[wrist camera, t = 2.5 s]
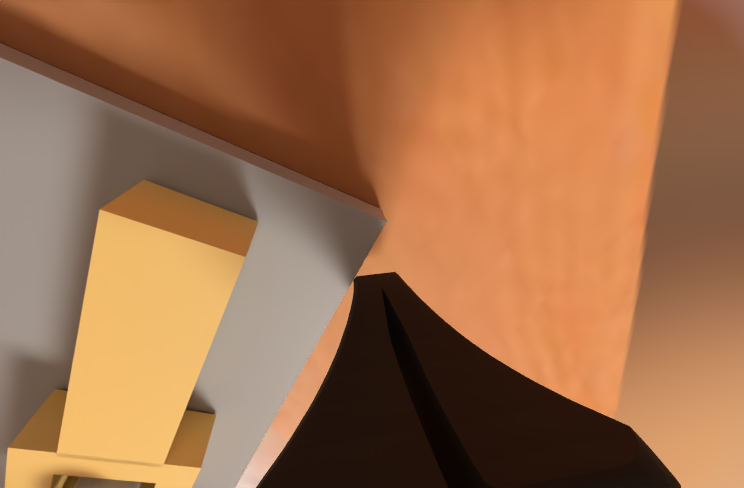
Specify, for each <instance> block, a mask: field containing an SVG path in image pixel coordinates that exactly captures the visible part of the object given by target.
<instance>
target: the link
mask: <svg viewBox="0 0 744 488" xmlns="http://www.w3.org/2000/svg"><path fill="white" fill-rule="evenodd" d="M258 223H259V222H258V221H255V220H253V219H250V218H247V217H244V216H242V215H239V214H236V213H234V212H231V211H228V210H225V209H223V208H220V207H217V206H215V205H212V204H209V203H206V202H204V201H201V200H198V199H196V198H193V197H190V196H187V195H185V194H182V193H179V192H176V191H174V190H171V189H168V188H166V187H163V186H160V185H157V184H155V183H152V182H149V181H147V180H143V181H141V182H140V183H138V184H137V185H135V186H134V187H132V188H131V189H129V190H128V191H126V192H125V193H123V194H122V195H120V196H119V197H117V198H116V199H114V200H113V201H111V202H110V203H108V204H107V205H105V206H104V207H102V208H101V209H100V210H99V215H98V221H97V227H96V232H95V238H94V244H93V249H92V255H91V261H90V267H89V272H88V278H87V284H86V289H85V295H84V301H83V306H82V312H81V318H80V323H79V329H78V335H77V341H76V346H75V352H74V358H73V363H72V369H71V375H70V380H69V386H68V391H65V390H59V389H55V390H54V391H53V392H52V393H51V395H50V396H49V397H48V398H47V400H46V401H45V402H44V403H43V405H42V406H41V407H40V408H39V409H38V411H37V412H36V413H35V414H34V416H33V417H32V418H31V419H30V421H29V422H28V423H27V424H26V426H25V427H24V428H23V429H22V431H21V432H20V433H19V434H18V436H17V437H16V438H15V439H14V440H13V442H12V443H11V444H10V445H9V447H8V450H7V463H6V476H5V488H73V487H74V485H75V483H76V482H77V480H78V478H79V477H90V478H101V479H113V480H124V481H136V482H141V484H140V487H139V488H192V486H193V484H194V482H195V480H196V478H197V476H198V474H199V472H200V470H201V467H202V464H203V460H204V457H205V453H206V450H207V446H208V443H209V439H210V436H211V432H212V429H213V425H214V422H215V418H216V415H214V414H208V413H202V412H196V411H190V410H185V409H186V407H187V404H188V402H189V399H190V397H191V394H192V392H193V389H194V386H195V384H196V381H197V379H198V376H199V374H200V371H201V369H202V366H203V364H204V361H205V359H206V356H207V354H208V351H209V349H210V346H211V344H212V341H213V339H214V336H215V334H216V331H217V328H218V326H219V323H220V321H221V318H222V316H223V313H224V311H225V308H226V306H227V303H228V301H229V298H230V296H231V293H232V291H233V288H234V286H235V283H236V281H237V278H238V275H239V273H240V270H241V268H242V265H243V263H244V260H245V258H246V255H247V252H248V250H249V247H250V244H251V242H252V239H253V236H254V234H255V231H256V228H257V225H258Z"/></svg>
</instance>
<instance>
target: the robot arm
mask: <svg viewBox="0 0 744 488" xmlns="http://www.w3.org/2000/svg"><path fill="white" fill-rule="evenodd" d="M256 488H681V485H680V484H679V482H678V481H677V480H676V478H675V477H674V476H673V475H672V473H671V472H670V471H669V470H668V469H667V468H666V466H665V465H664V464H663V463H662V462H661V460H660V459H659V458H658V457H657V456H656V455H655V453H654V452H653V451H652V450H651V449H650V448H649V447H648V445H646V443H645V442H644V441H643V440H642V439H641V438H640V437H639V436H638V435H637V434H636V432H634V431H633V429H632V428H631V427H630V426H628V425H625V424H623V423H621V422H619V421H616V420H614V419H612V418H610V417H607V416H605V415H603V414H601V413H598V412H596V411H594V410H592V409H589V408H587V407H585V406H583V405H580V404H578V403H576V402H574V401H572V400H570V399H567V398H565V397H564V396H562V395H560V394H558V393H556V392H554V391H552V390H550V389H548V388H546V387H544V386H542V385H540V384H538V383H536V382H534V381H533V380H531V379H529V378H527V377H525V376H524V375H522V374H520V373H518V372H517V371H515V370H513V369H512V368H510V367H508V366H507V365H505V364H503V363H502V362H500V361H498V360H497V359H495V358H494V357H492V356H491V355H489V354H487V353H486V352H484V351H483V350H482V349H480V348H479V347H477V346H476V345H475V344H473V343H472V342H470V341H469V340H468V339H466V338H465V337H464V336H462V335H461V334H460V333H459V332H457V331H456V330H455V329H454V328H452V327H451V326H450V325H449V324H448V323H446V322H445V321H444V320H443V319H442V318H441V317H440V316H438V315H437V314H436V313H435V312H434V311H433V310H432V309H431V308H430V307H429V306H428V305H427V304H426V303H424V302H423V301H422V300H421V299H420V298H419V297H418V296H417V295H416V293H415V292H414V291H413V290H412V289H411V288H410V287H409V286H408V285H407V284H406V283H405V282H404V281H403V280H402V278H401V277H400V276H399V275H398V274H397V273H396V272H391V273H382V274H374V275H365V276H357V277H356V278H355V279H354V294H353V300H352V305H351V309H350V313H349V317H348V321H347V325H346V328H345V331H344V333H343V336H342V339H341V342H340V345H339V348H338V350H337V353H336V355H335V357H334V360H333V362H332V364H331V366H330V369H329V371H328V373H327V375H326V377H325V379H324V381H323V383H322V385H321V387H320V389H319V391H318V393H317V395H316V397H315V398H314V400H313V402H312V404H311V406H310V407H309V409H308V411H307V412H306V414H305V416H304V417H303V419H302V420H301V422H300V424H299V425H298V427H297V429H296V430H295V432H294V433H293V435H292V437H291V438H290V440H289V441H288V443H287V444H286V446H285V447H284V449H283V450H282V452H281V453H280V455H279V456H278V458H277V459H276V460H275V462H274V463H273V465H272V466H271V467H270V469H269V470H268V472H267V473H266V474H265V476H264V477H263V479H262V480H261V481H260V483H259V484H258V486H257V487H256Z"/></svg>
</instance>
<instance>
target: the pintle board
mask: <svg viewBox="0 0 744 488" xmlns="http://www.w3.org/2000/svg"><path fill="white" fill-rule="evenodd" d="M143 180H147V181H149V182H152V183H155V184H157V185H160V186H163V187H166V188H168V189H171V190H174V191H176V192H179V193H182V194H185V195H187V196H190V197H193V198H196V199H198V200H201V201H204V202H206V203H209V204H212V205H215V206H217V207H220V208H223V209H225V210H228V211H231V212H234V213H236V214H239V215H242V216H244V217H247V218H250V219H253V220H255V221H258V222H259V223H258V225H257V228H256V231H255V234H254V236H253V239H252V242H251V244H250V247H249V250H248V252H247V255H246V258H245V260H244V263H243V265H242V268H241V270H240V273H239V275H238V278H237V281H236V283H235V286H234V288H233V291H232V293H231V296H230V298H229V301H228V303H227V306H226V308H225V311H224V313H223V316H222V318H221V321H220V323H219V326H218V328H217V331H216V334H215V336H214V339H213V341H212V344H211V346H210V349H209V351H208V354H207V356H206V359H205V361H204V364H203V366H202V369H201V371H200V374H199V376H198V379H197V381H196V384H195V386H194V389H193V392H192V394H191V397H190V399H189V402H188V404H187V407H186V409H185V410H190V411H196V412H202V413H208V414H214V415H216V418H215V422H214V425H213V429H212V432H211V436H210V439H209V443H208V446H207V450H206V453H205V457H204V460H203V464H202V467H201V470H200V472H199V474H198V476H197V478H196V480H195V482H194V484H193V486H192V488H235V487H236V485H237V483H238V482H239V480H240V478H241V476H242V475H243V473H244V471H245V469H246V468H247V466H248V464H249V462H250V461H251V459H252V457H253V455H254V454H255V452H256V450H257V448H258V447H259V445H260V443H261V441H262V440H263V438H264V436H265V434H266V432H267V431H268V429H269V427H270V425H271V424H272V422H273V420H274V418H275V417H276V415H277V413H278V411H279V410H280V408H281V406H282V404H283V403H284V401H285V399H286V397H287V396H288V394H289V392H290V390H291V388H292V387H293V385H294V383H295V381H296V380H297V378H298V376H299V374H300V373H301V371H302V369H303V367H304V366H305V364H306V362H307V360H308V359H309V357H310V355H311V353H312V352H313V350H314V348H315V346H316V344H317V343H318V341H319V339H320V337H321V336H322V334H323V332H324V330H325V329H326V327H327V325H328V323H329V322H330V320H331V318H332V316H333V315H334V313H335V311H336V309H337V308H338V306H339V304H340V302H341V301H342V299H343V297H344V295H345V293H346V292H347V290H348V288H349V286H350V285H351V283H352V281H353V279H354V278H355V276H356V274H357V272H358V271H359V269H360V267H361V265H362V264H363V262H364V260H365V258H366V257H367V255H368V253H369V251H370V249H371V248H372V246H373V244H374V242H375V241H376V239H377V237H378V235H379V234H380V232H381V230H382V228H383V227H384V225H385V223H386V219H385V217H384V215H383V212H382V210H381V209H380V208H378V207H375V206H373V205H371V204H368V203H366V202H364V201H362V200H359V199H357V198H355V197H352V196H350V195H348V194H345V193H343V192H341V191H339V190H336V189H334V188H332V187H329V186H327V185H325V184H323V183H320V182H318V181H316V180H313V179H311V178H309V177H307V176H304V175H302V174H300V173H297V172H295V171H293V170H290V169H288V168H286V167H284V166H281V165H279V164H277V163H274V162H272V161H270V160H268V159H265V158H263V157H261V156H258V155H256V154H254V153H252V152H249V151H247V150H245V149H242V148H240V147H238V146H235V145H233V144H231V143H229V142H226V141H224V140H222V139H219V138H217V137H215V136H213V135H210V134H208V133H206V132H203V131H201V130H199V129H197V128H194V127H192V126H190V125H187V124H185V123H183V122H180V121H178V120H176V119H174V118H171V117H169V116H167V115H164V114H162V113H160V112H158V111H155V110H153V109H151V108H148V107H146V106H144V105H142V104H139V103H137V102H135V101H132V100H130V99H128V98H125V97H123V96H121V95H119V94H116V93H114V92H112V91H109V90H107V89H105V88H103V87H100V86H98V85H96V84H93V83H91V82H89V81H87V80H84V79H82V78H80V77H77V76H75V75H73V74H70V73H68V72H66V71H64V70H61V69H59V68H57V67H54V66H52V65H50V64H48V63H45V62H43V61H41V60H38V59H36V58H34V57H32V56H29V55H27V54H25V53H22V52H20V51H18V50H15V49H13V48H11V47H9V46H6V45H4V44H2V43H0V488H5V476H6V463H7V450H8V447H9V445H10V444H11V443H12V442H13V440H14V439H15V438H16V437H17V436H18V434H19V433H20V432H21V431H22V429H23V428H24V427H25V426H26V424H27V423H28V422H29V421H30V419H31V418H32V417H33V416H34V414H35V413H36V412H37V411H38V409H39V408H40V407H41V406H42V405H43V403H44V402H45V401H46V400H47V398H48V397H49V396H50V395H51V393H52V392H53V391H54V390H55V389H59V390H65V391H68V386H69V380H70V375H71V369H72V363H73V358H74V352H75V346H76V341H77V335H78V329H79V323H80V318H81V312H82V306H83V301H84V295H85V289H86V284H87V278H88V272H89V267H90V261H91V255H92V249H93V244H94V238H95V232H96V227H97V221H98V215H99V210H100V209H101V208H102V207H104V206H105V205H107V204H108V203H110V202H111V201H113V200H114V199H116V198H117V197H119V196H120V195H122V194H123V193H125V192H126V191H128V190H129V189H131V188H132V187H134V186H135V185H137V184H138V183H140V182H141V181H143ZM140 484H141V482H136V481H124V480H113V479H101V478H90V477H79V478H78V480H77V482H76V483H75V485H74V487H73V488H139V487H140Z"/></svg>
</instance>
